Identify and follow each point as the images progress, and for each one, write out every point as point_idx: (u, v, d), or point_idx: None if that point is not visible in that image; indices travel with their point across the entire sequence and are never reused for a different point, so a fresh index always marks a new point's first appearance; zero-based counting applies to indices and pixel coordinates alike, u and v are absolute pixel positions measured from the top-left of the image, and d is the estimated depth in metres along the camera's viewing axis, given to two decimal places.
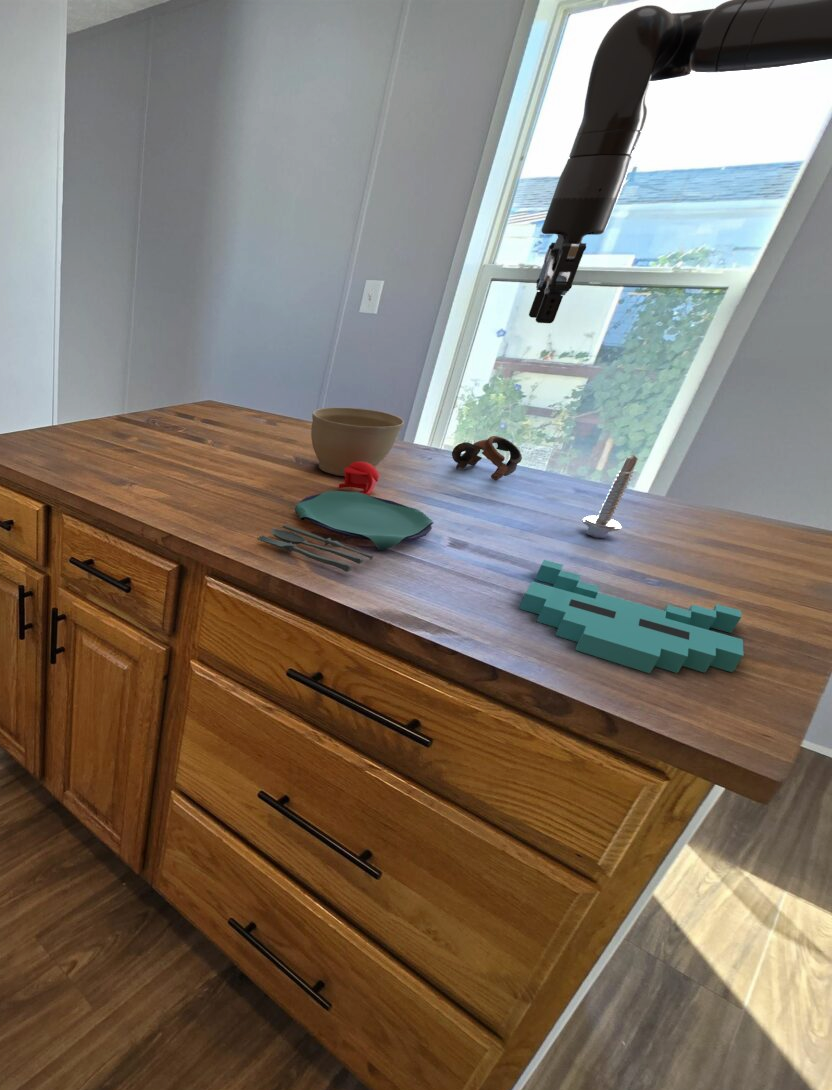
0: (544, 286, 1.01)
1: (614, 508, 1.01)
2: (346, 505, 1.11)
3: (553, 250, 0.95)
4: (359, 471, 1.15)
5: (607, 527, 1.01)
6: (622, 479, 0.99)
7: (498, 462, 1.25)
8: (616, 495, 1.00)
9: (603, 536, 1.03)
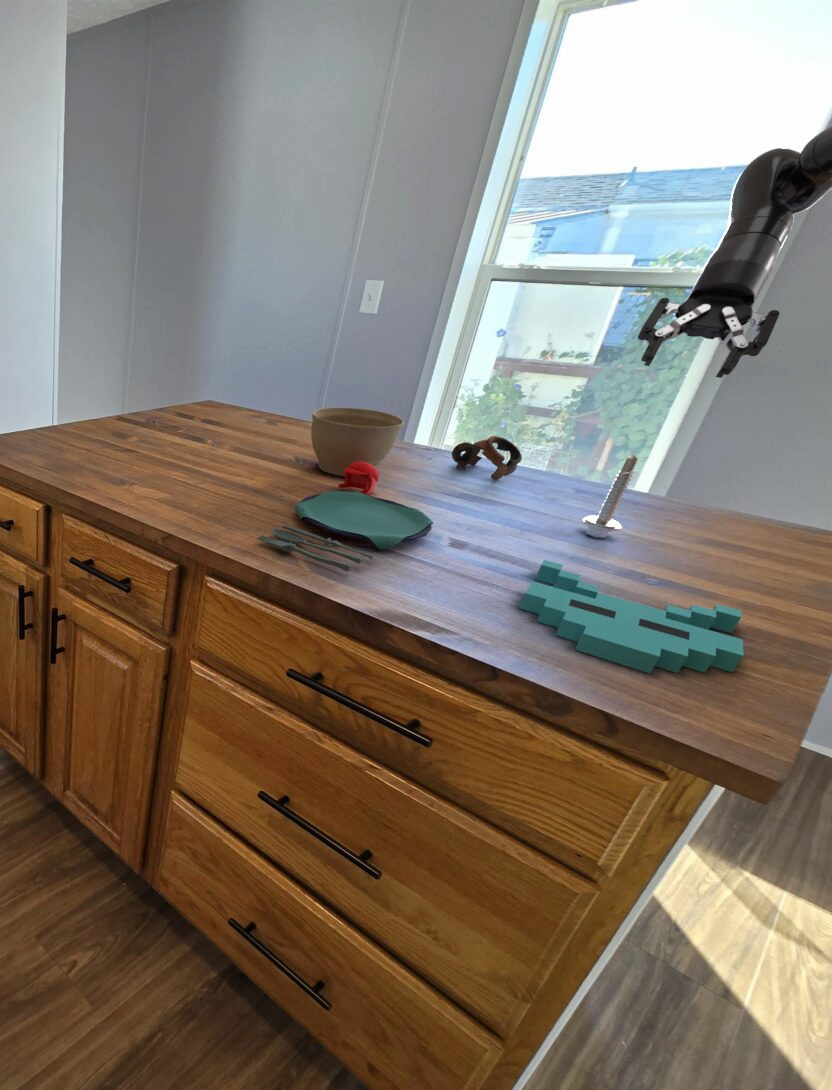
0: None
1: (614, 508, 1.01)
2: (346, 505, 1.11)
3: None
4: (359, 471, 1.15)
5: (607, 527, 1.01)
6: (622, 479, 0.99)
7: (498, 462, 1.25)
8: (616, 495, 1.00)
9: (603, 536, 1.03)
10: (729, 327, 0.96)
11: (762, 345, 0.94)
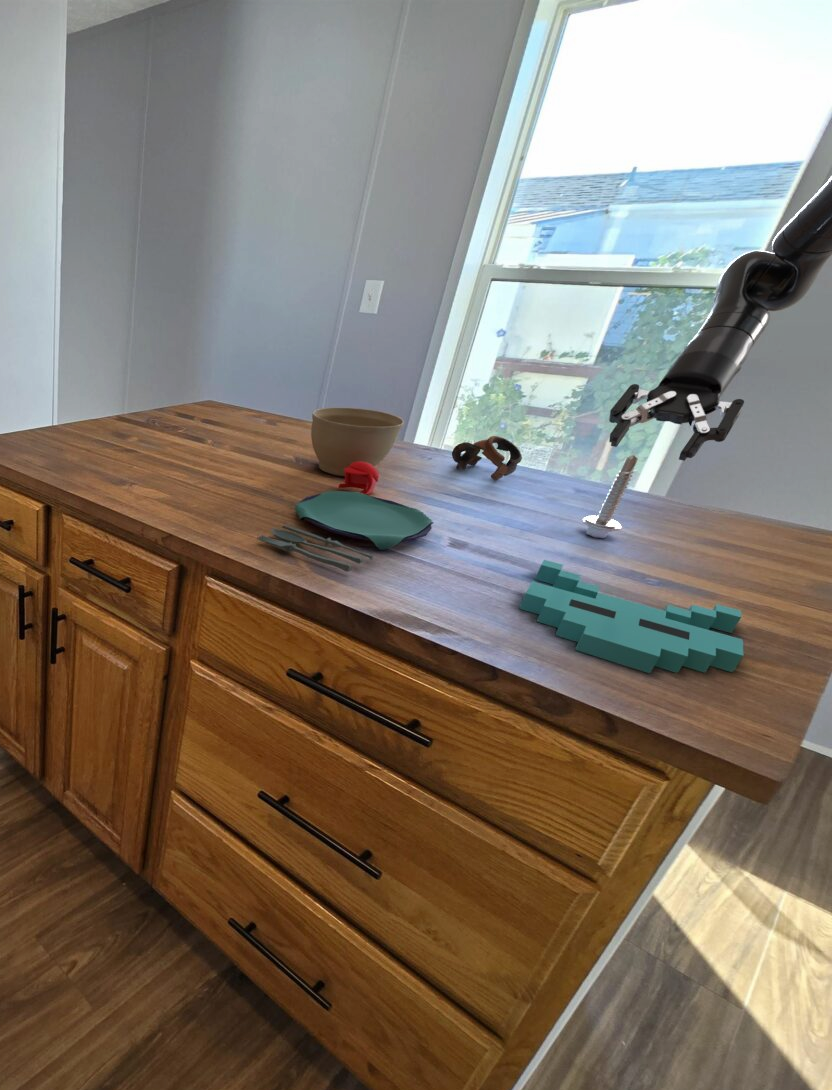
0: None
1: (614, 508, 1.01)
2: (346, 505, 1.11)
3: None
4: (359, 471, 1.15)
5: (607, 527, 1.01)
6: (622, 479, 0.99)
7: (498, 462, 1.25)
8: (616, 495, 1.00)
9: (603, 536, 1.03)
10: (692, 413, 0.99)
11: (723, 431, 0.96)
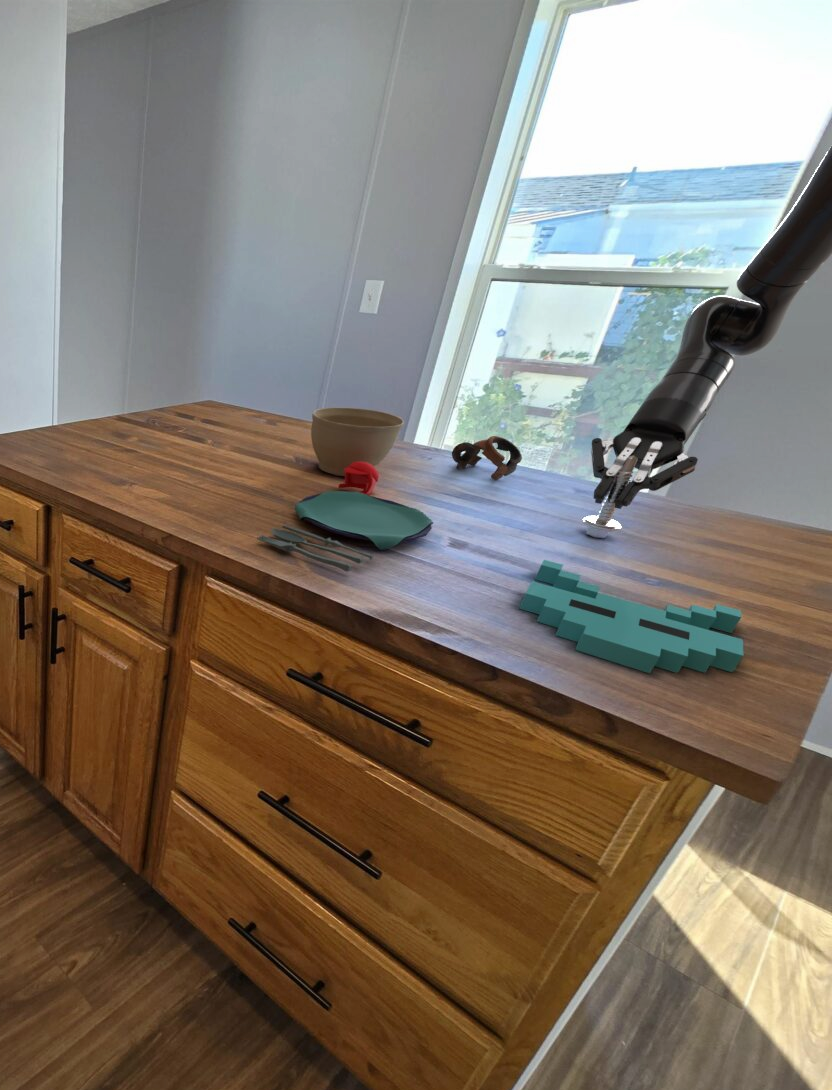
0: None
1: (614, 508, 1.01)
2: (346, 505, 1.11)
3: None
4: (359, 471, 1.15)
5: (607, 527, 1.01)
6: (622, 479, 0.99)
7: (498, 462, 1.25)
8: (616, 495, 1.00)
9: (603, 536, 1.03)
10: (643, 459, 0.98)
11: (654, 481, 0.97)
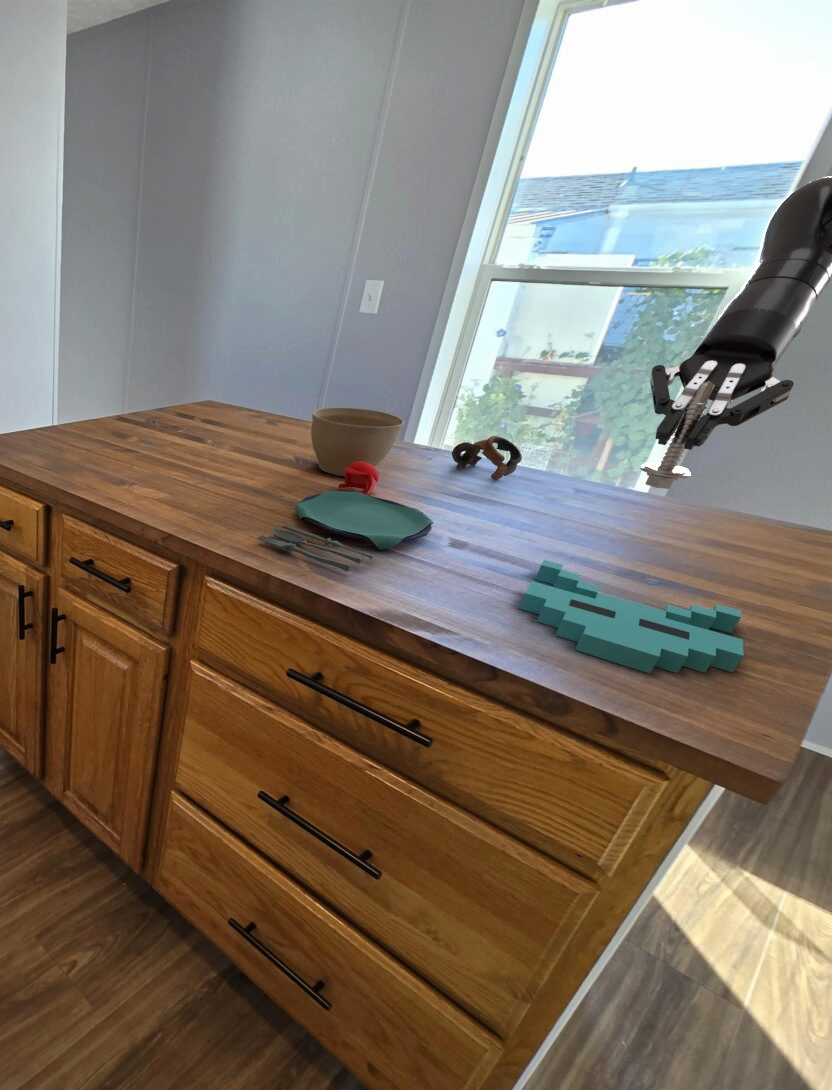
0: None
1: (682, 450, 0.81)
2: (346, 505, 1.11)
3: None
4: (359, 471, 1.15)
5: (673, 474, 0.81)
6: (693, 411, 0.79)
7: (498, 462, 1.25)
8: (685, 433, 0.80)
9: (668, 485, 0.83)
10: (721, 386, 0.78)
11: (736, 413, 0.77)
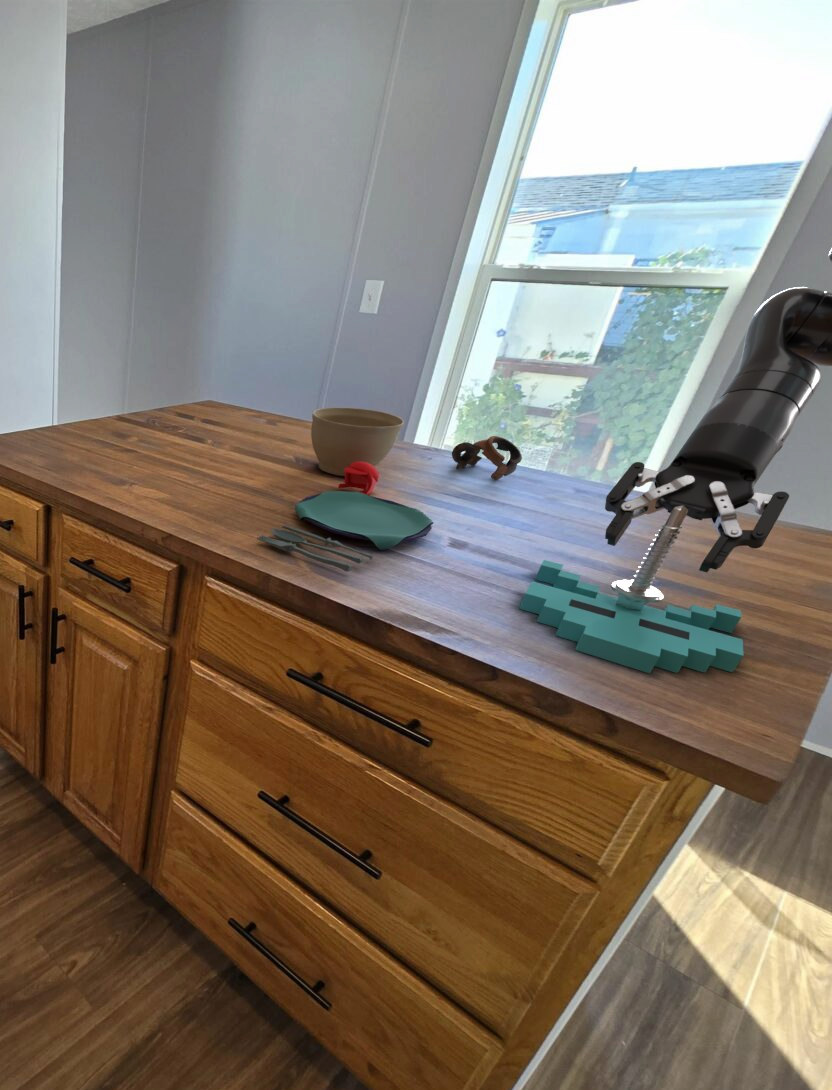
0: None
1: (654, 573, 0.77)
2: (346, 505, 1.11)
3: None
4: (359, 471, 1.15)
5: (645, 597, 0.77)
6: (666, 535, 0.75)
7: (498, 462, 1.25)
8: (657, 556, 0.76)
9: (639, 607, 0.78)
10: (717, 508, 0.73)
11: (761, 537, 0.70)
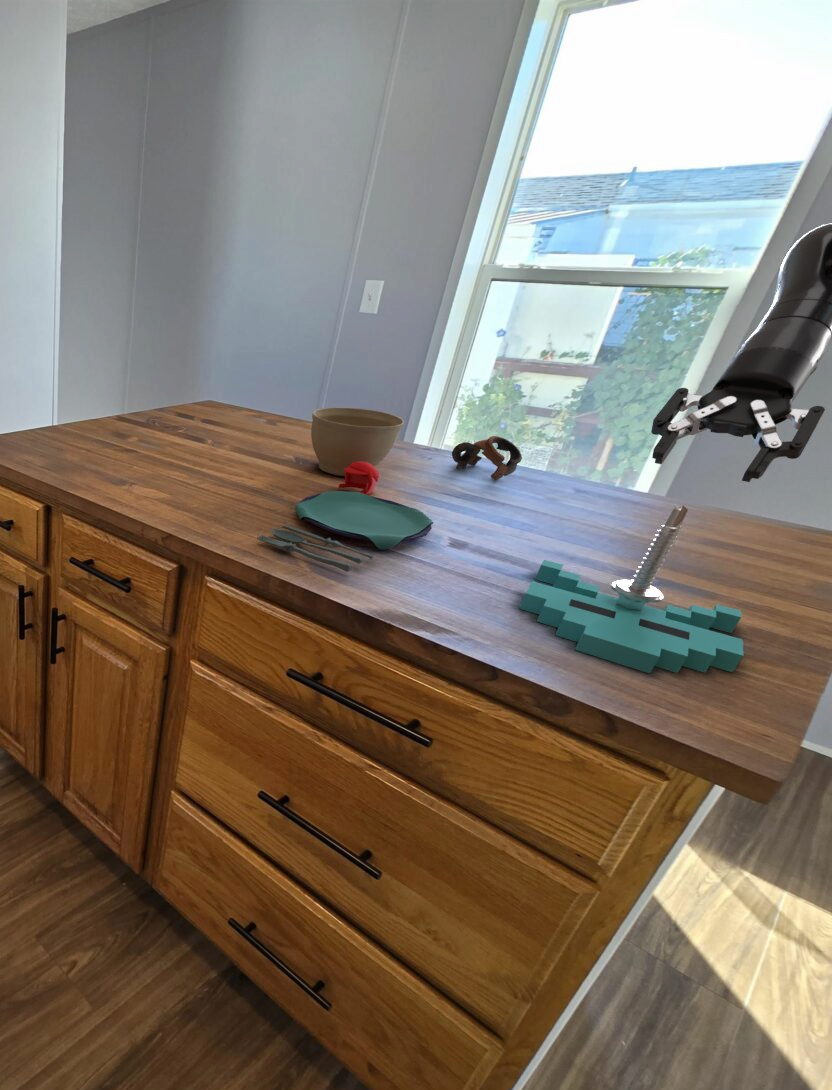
0: None
1: (655, 573, 0.77)
2: (346, 505, 1.11)
3: None
4: (359, 471, 1.15)
5: (645, 597, 0.77)
6: (666, 535, 0.75)
7: (498, 462, 1.25)
8: (658, 556, 0.76)
9: (639, 607, 0.78)
10: (758, 423, 0.80)
11: (800, 446, 0.77)
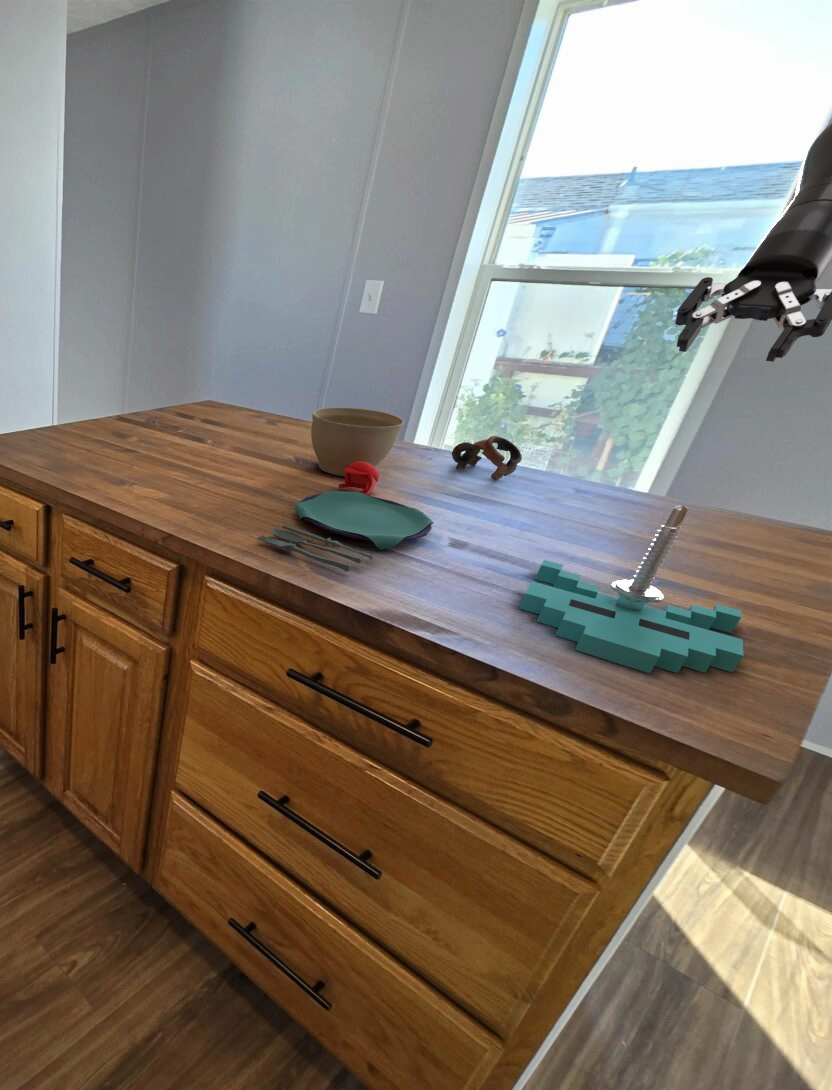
0: None
1: (655, 573, 0.77)
2: (346, 505, 1.11)
3: None
4: (359, 471, 1.15)
5: (645, 597, 0.77)
6: (666, 535, 0.75)
7: (498, 462, 1.25)
8: (657, 556, 0.76)
9: (639, 607, 0.78)
10: (783, 303, 0.81)
11: (824, 322, 0.79)
